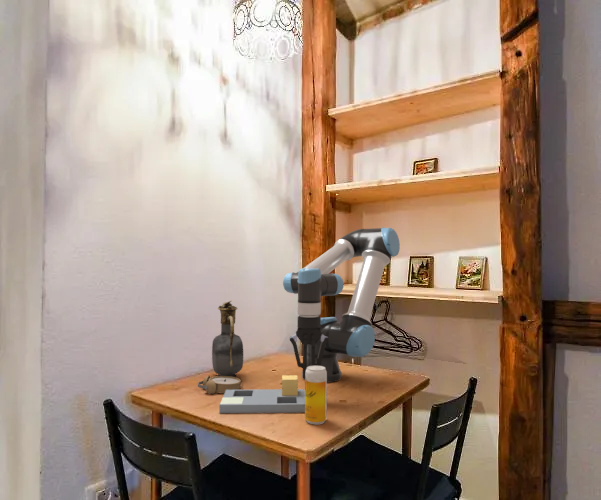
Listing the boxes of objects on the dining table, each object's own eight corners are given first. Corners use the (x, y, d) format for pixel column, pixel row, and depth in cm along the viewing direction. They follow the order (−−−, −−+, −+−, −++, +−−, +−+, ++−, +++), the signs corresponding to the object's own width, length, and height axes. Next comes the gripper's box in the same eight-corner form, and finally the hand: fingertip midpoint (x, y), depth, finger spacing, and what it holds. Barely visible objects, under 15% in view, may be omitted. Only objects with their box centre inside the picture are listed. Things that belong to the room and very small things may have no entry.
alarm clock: (245, 383, 146) (202, 380, 140) (242, 398, 146) (199, 395, 140) (237, 375, 156) (196, 372, 151) (234, 389, 156) (193, 386, 150)
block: (297, 390, 140) (297, 375, 140) (297, 395, 135) (297, 379, 135) (281, 390, 140) (282, 375, 140) (281, 395, 135) (282, 379, 135)
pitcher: (237, 372, 172) (238, 298, 173) (246, 385, 154) (247, 302, 155) (210, 374, 168) (211, 298, 169) (216, 387, 150) (217, 303, 151)
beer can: (304, 417, 122) (304, 365, 123) (324, 417, 123) (325, 365, 123) (306, 425, 116) (306, 370, 117) (327, 425, 117) (328, 370, 117)
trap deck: (304, 396, 141) (304, 389, 142) (307, 412, 126) (307, 404, 127) (225, 396, 140) (226, 389, 140) (219, 413, 125) (219, 405, 125)
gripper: (327, 314, 142) (327, 385, 142) (288, 314, 142) (288, 385, 141) (330, 317, 135) (329, 391, 134) (289, 317, 134) (288, 392, 133)
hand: (308, 388), depth 138 cm, fingers closed
